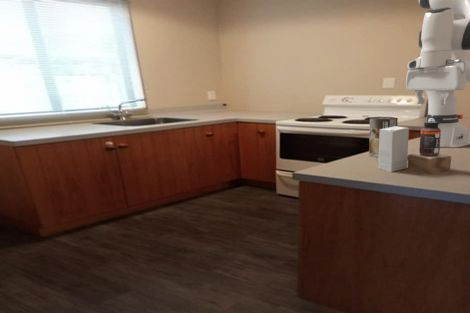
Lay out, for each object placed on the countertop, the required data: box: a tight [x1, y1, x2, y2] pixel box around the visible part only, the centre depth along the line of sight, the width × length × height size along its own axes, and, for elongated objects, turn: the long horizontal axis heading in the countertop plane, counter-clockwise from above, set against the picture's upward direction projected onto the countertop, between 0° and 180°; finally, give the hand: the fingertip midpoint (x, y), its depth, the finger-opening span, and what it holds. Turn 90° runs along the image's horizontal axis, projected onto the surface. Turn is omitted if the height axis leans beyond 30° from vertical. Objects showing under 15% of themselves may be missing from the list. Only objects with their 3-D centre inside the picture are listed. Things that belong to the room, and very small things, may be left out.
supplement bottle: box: [418, 121, 441, 156], centre depth 112 cm, size 6×6×11 cm
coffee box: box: [368, 116, 399, 158], centre depth 136 cm, size 9×6×16 cm
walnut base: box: [407, 152, 452, 175], centre depth 114 cm, size 9×9×5 cm
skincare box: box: [377, 125, 410, 173], centre depth 116 cm, size 8×6×15 cm
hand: (432, 104), depth 110 cm, fingers open, 8 cm apart
